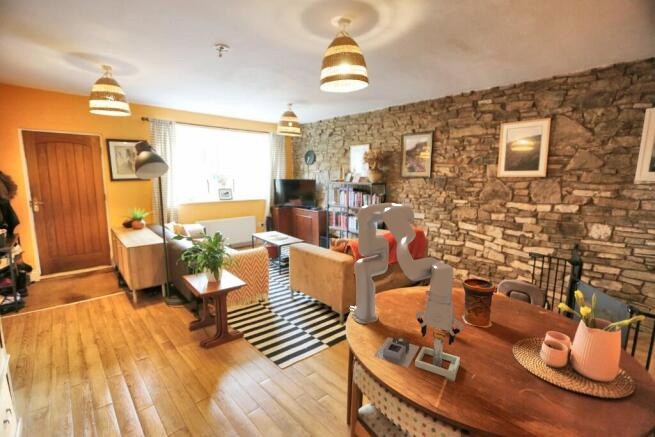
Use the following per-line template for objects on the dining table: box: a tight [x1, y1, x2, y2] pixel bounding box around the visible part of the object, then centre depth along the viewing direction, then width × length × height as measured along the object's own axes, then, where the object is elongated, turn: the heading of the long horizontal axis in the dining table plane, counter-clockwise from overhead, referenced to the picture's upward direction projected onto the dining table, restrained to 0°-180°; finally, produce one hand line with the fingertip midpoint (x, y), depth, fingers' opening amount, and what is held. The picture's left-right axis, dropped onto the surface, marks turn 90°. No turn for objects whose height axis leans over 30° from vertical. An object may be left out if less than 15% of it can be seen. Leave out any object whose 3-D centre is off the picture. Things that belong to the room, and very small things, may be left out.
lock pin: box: [432, 329, 446, 368], centre depth 113 cm, size 4×4×13 cm
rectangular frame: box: [414, 345, 461, 383], centre depth 114 cm, size 14×11×3 cm
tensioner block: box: [373, 336, 420, 369], centre depth 123 cm, size 14×16×4 cm
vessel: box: [461, 278, 496, 329], centre depth 146 cm, size 14×14×20 cm
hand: (437, 339), depth 113 cm, fingers open, 9 cm apart
